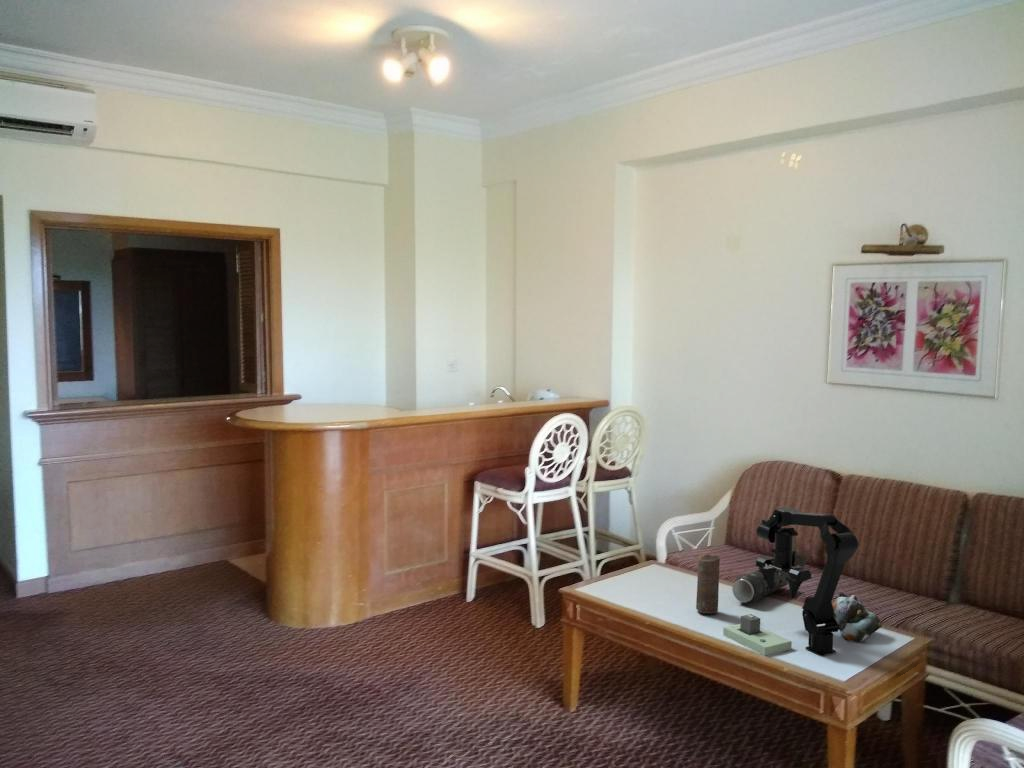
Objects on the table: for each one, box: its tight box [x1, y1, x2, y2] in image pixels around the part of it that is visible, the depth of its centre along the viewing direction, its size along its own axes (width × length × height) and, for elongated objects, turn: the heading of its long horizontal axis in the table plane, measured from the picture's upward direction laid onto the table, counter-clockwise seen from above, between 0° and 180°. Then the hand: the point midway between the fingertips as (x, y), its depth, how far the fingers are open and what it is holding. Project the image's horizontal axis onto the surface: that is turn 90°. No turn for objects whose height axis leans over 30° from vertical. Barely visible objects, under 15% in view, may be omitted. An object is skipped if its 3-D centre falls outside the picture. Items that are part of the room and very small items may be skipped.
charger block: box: [740, 613, 761, 636], centre depth 253 cm, size 4×4×7 cm
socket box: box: [722, 623, 793, 656], centre depth 251 cm, size 18×11×3 cm, turn 27°
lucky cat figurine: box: [832, 592, 883, 643], centre depth 258 cm, size 15×12×14 cm
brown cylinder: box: [695, 553, 721, 615], centre depth 276 cm, size 8×7×20 cm
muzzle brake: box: [731, 569, 790, 604], centre depth 293 cm, size 10×28×10 cm, turn 135°
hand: (782, 594), depth 260 cm, fingers open, 9 cm apart
